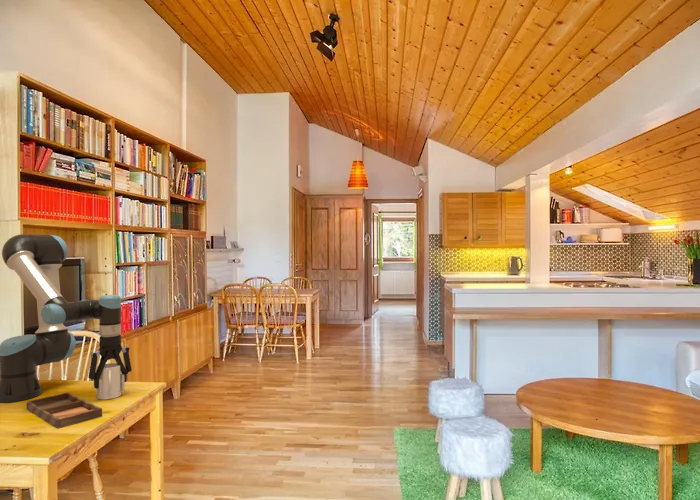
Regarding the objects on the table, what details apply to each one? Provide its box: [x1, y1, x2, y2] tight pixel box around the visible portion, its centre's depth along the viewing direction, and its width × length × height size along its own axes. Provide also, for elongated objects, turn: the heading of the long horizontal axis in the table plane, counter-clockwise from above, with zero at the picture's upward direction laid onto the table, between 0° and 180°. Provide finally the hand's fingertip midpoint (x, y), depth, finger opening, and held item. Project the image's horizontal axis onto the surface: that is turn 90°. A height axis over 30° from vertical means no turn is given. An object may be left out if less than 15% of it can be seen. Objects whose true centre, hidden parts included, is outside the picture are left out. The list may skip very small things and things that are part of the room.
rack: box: [26, 392, 103, 429], centre depth 162 cm, size 30×14×3 cm, turn 51°
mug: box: [96, 362, 122, 400], centre depth 178 cm, size 12×8×12 cm
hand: (110, 393), depth 179 cm, fingers closed on mug, 8 cm apart
